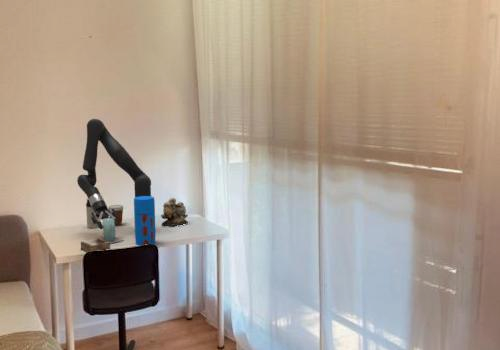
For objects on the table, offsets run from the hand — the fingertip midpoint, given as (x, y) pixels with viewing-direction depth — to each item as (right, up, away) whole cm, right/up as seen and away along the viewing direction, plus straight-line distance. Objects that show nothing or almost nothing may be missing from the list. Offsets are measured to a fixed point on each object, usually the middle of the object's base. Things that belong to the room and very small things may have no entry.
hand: (109, 227), depth 264 cm
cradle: (-3, -10, -14) cm, 17 cm away
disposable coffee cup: (-7, -3, +38) cm, 39 cm away
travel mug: (-19, -4, +33) cm, 39 cm away
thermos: (+20, -9, -2) cm, 22 cm away
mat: (0, -8, +2) cm, 8 cm away
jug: (+1, -8, +1) cm, 8 cm away
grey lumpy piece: (+29, -3, +39) cm, 49 cm away
